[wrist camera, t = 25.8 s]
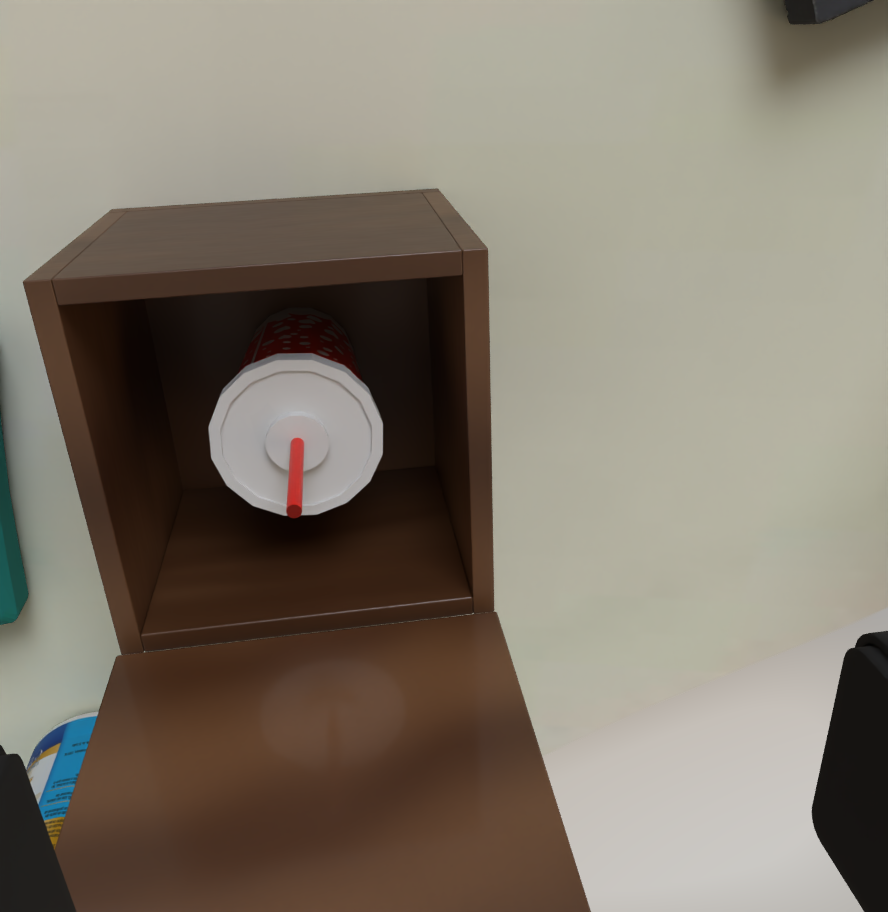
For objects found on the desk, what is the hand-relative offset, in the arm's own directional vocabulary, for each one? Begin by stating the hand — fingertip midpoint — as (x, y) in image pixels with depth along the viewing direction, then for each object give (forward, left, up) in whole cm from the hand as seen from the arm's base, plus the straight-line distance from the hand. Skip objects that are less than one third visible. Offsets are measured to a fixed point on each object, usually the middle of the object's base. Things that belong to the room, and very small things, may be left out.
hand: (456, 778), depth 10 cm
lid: (+3, +11, -11) cm, 16 cm away
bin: (+3, +5, -30) cm, 31 cm away
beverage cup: (+3, +5, -30) cm, 30 cm away
